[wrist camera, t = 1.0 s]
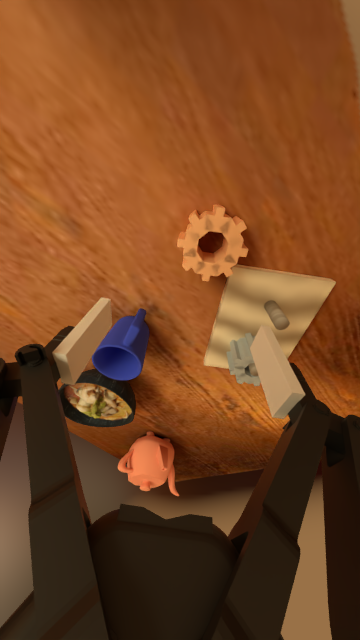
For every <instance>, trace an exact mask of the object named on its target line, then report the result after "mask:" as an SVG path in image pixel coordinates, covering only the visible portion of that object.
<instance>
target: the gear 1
mask: <svg viewBox="0 0 360 640" xmlns="http://www.w3.org/2000/svg"><path fill="white" fill-rule="evenodd" d="M224 213H225V207H223V206H222V205H216V204H214V206H213V211H212V212H211V211H204V212H203V213H202V214H201V215H199V214H198V213H197V211H196V210H195V211H193V212H192V213H191V214H190V216H189V221H190V222H191V223H190V224H189V225H188V226H187V230H186V232H180V235H179V237H178V242H177V247H182V248H184V251H183V256H184V259H183V263H182V266H183V267H184V269H185V270H186V271H188V270H189V269H190V268H192V269H193V270H194V271H195V273H198V274H202V280H203V281H209V278H210V275H211V276H219V275H220V274H222V273H223V272H224V274H225V275H226V277H228V276H230V275H232V274H233V271H232V269H231V267H233V266H234V265H236V264H237V261H238V258H239V256H241V257H246V256H247V253H248V248H247V247H246V246H245V245H244V243H243V242H244V239H243V237H242V236H241V234H240V233H241V232H242V231H244V230H245V229H246V228H247V227H246V225H245V223H244V222H243V220H241V219H240V218H238V217H237V216H235V217H234V218H233V219H232V218H231V217H230V216H229V215H227V214H224ZM209 231H213V232H219V233H223V235H224V239H223V243H222V247H221V248H219V249H218V250H217V251H215V252H214V253H207V252H202V250H201V249H200V247H199V246H198V241H199V239H200V238H201V237H202V236H204V235H205V234H206V233H208V232H209Z"/></svg>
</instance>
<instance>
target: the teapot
mask: <svg viewBox="0 0 360 640" xmlns="http://www.w3.org/2000/svg"><path fill="white" fill-rule="evenodd" d="M170 441H171V440H170V439H168V438H164V439H161V438H158V437H155V436H154V432H151V431H148V432H147V436H144V437H141V438H138V439H137V440H136V441H135V442H134V444H133V445H132V446H131V448H130V450H129V452H128V453H127V454H126V455H125V456H124V457H123V458H122V459H121V460H120V462H119V464H118V469H119V470H120V471H122V472H125V473H128V480H129V482H131V483H133V484H134V485H140V489H141V490H143V491H149V490H150V488H153V487H157V486H160V485H162V484H163V483H164V482H165V481H166V479H167V477H168V481H169V488H170V491H171V492H172V493H173V494H174V495H176V496H179V494H178V493H177V491H176V489H175V485H174V478H175V471H174V466H173V464H172V463H173V459H174V448H173V446H172V444H171V443H170ZM127 460H128V464H127V466H128V468H127V467H126V466H125V464H126V462H127Z"/></svg>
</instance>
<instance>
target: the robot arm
mask: <svg viewBox="0 0 360 640" xmlns="http://www.w3.org/2000/svg"><path fill="white" fill-rule="evenodd" d="M111 326H112V316H111V300H110V299H107V298H101V299H100V300H99V301H98V302H97V303H96V304H95V305H94V306H93V308H92V309H91V310H90V311H89V312H88V313H87V314H86V315H85V316H84V318H83V319H82V320H81V321H80V322H79V323H78V324H77V325H76V327H72V326H68V327H66V328H64V329H62V330H61V331H60V332H59V333H58V334H57V336H55V337H54V338H53V340H51V341H50V342H49V343H48V344H47V345H46V346H45V347H43V346H42V345H40V344H29V345H26V346H23V347H22V348H20V349H18V351H17V352H16V353H15V358H16V360H17V362H14V363H5V361H4V360H3V359H2V358H0V460H1V456H2V453H3V449H4V445H5V442H6V438H7V435H8V431H9V428H10V424H11V420H12V417H13V413H14V410H15V406H16V403H17V399H18V396H22V398H23V409H24V421H25V432H26V443H27V454H28V466H29V476H30V488H31V506H30V508H29V514H28V515H29V533H30V546H31V559H32V573H33V586H34V590H33V591H32V592H31V594H30V595H29V596H28V597H27V598H26V599H25V600H24V602H23V603H22V604H21V605H20V606H19V607H18V608H17V609H16V611H15V612H14V613H13V614H12V615H11V616H10V617H9V619H8V620H7V621H6V622H5V623H4V624H3V626H2V627H1V628H0V640H284V639H283V637H282V635H281V629H282V625H283V621H284V617H285V613H286V609H287V606H288V602H289V598H290V594H291V590H292V586H293V583H294V579H295V575H296V571H297V567H298V563H299V559H300V547H299V545H298V544H297V539H298V535H299V531H300V528H301V524H302V521H303V517H304V514H305V510H306V507H307V503H308V500H309V496H310V493H311V489H312V486H313V482H314V479H315V475H316V472H317V468H318V464H319V461H320V458H321V456H322V477H323V500H324V521H325V542H326V543H325V544H326V565H327V588H328V607H329V618H330V628H331V635H332V640H360V418H359V417H358V416H355V415H348V416H347V417H346V418H343V417H341V416H338V415H336V414H334V413H332V412H331V411H330V409H329V408H328V407H327V406H326V405H325V404H324V403H323V402H321V401H319V400H317V399H316V398H315V396H314V394H313V393H312V391H311V389H310V387H309V385H308V384H307V382H306V381H305V378H304V377H303V375H302V373H301V371H300V369H299V368H298V367H297V366H296V365H295V364H294V363H289V362H288V360H287V358H286V356H285V354H284V353H283V351H282V349H281V347H280V345H279V343H278V341H277V339H276V337H275V335H274V333H273V332H272V330H271V328H270V327H269V326H264V325H261V327H260V329H259V331H258V333H257V335H256V337H255V339H254V341H253V343H252V345H251V347H250V350H251V353H252V356H253V360H254V363H255V366H256V369H257V372H258V375H259V378H260V381H261V384H262V387H263V390H264V393H265V396H266V400H267V403H268V406H269V409H270V412H271V415H272V417H275V418H281V419H284V418H285V417H286V416H287V415H289V418H290V421H289V422H288V423H287V424H286V425H285V426H284V427H283V429H284V431H283V433H282V435H281V437H280V439H279V441H278V443H277V445H276V447H275V449H274V451H273V453H272V455H271V457H270V459H269V461H268V463H267V465H266V467H265V469H264V471H263V473H262V475H261V477H260V479H259V481H258V483H257V485H256V487H255V489H254V491H253V493H252V495H251V497H250V499H249V501H248V503H247V505H246V507H245V509H244V511H243V513H242V515H241V517H240V519H239V520H238V522H237V523H236V524H235V526H234V527H233V529H232V530H231V532H230V534H229V536H228V537H227V536H226V534H225V533H224V532H223V531H222V530H221V529H220V528H218V527H217V526H215V525H214V524H212V517H206V516H199V515H192V514H189V515H185V516H180V517H176V518H171V519H164V518H162V517H160V516H158V515H156V514H155V513H153V512H151V511H149V510H147V509H146V508H144V507H138V506H131V505H125V504H121V505H120V509H118V510H114V511H111V512H109V513H107V514H105V515H103V516H102V517H101V518H99V519H98V520H96V521H95V522H94V523H93V524H92V523H91V519H90V516H89V511H88V507H87V504H86V501H85V498H84V494H83V490H82V486H81V481H80V477H79V473H78V469H77V465H76V461H75V457H74V453H73V449H72V445H71V440H70V436H69V432H68V428H67V424H66V420H65V415H64V411H63V407H62V403H61V399H60V395H59V391H58V387H57V381H58V380H59V378H61V382H62V383H64V384H71V385H74V384H75V382H76V381H77V379H78V378H79V376H80V375H81V373H82V371H83V370H84V368H85V367H86V365H87V364H88V362H89V360H90V359H91V357H92V356H93V354H94V353H95V351H96V349H97V348H98V346H99V345H100V343H101V342H102V340H103V338H104V337H105V335H106V334H107V332H108V331H109V329H110V327H111Z"/></svg>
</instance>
